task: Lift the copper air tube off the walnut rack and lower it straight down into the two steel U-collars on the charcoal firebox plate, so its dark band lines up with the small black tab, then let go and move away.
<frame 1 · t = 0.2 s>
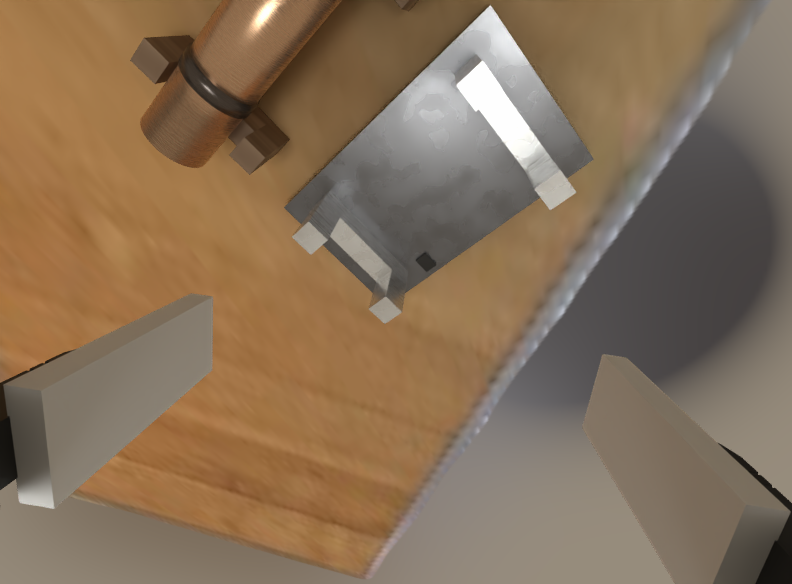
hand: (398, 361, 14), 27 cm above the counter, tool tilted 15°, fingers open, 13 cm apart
air tube: (277, 23, 29), point 4 cm above the counter, touching walnut rack
walnut rack: (294, 23, 33), on the counter
firebox plate: (429, 179, 38), on the counter
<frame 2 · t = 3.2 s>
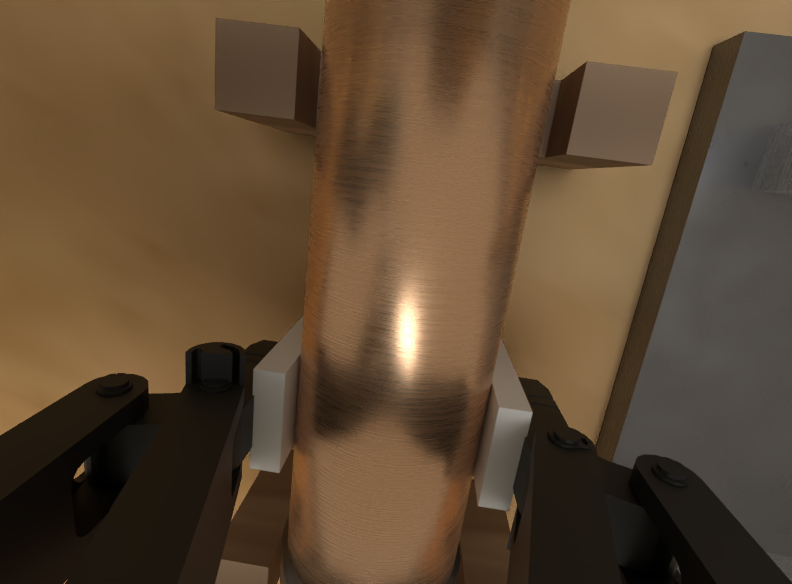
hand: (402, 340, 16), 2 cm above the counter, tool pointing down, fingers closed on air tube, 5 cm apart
air tube: (397, 365, 14), point 4 cm above the counter, touching gripper, walnut rack
walnut rack: (405, 324, 18), on the counter
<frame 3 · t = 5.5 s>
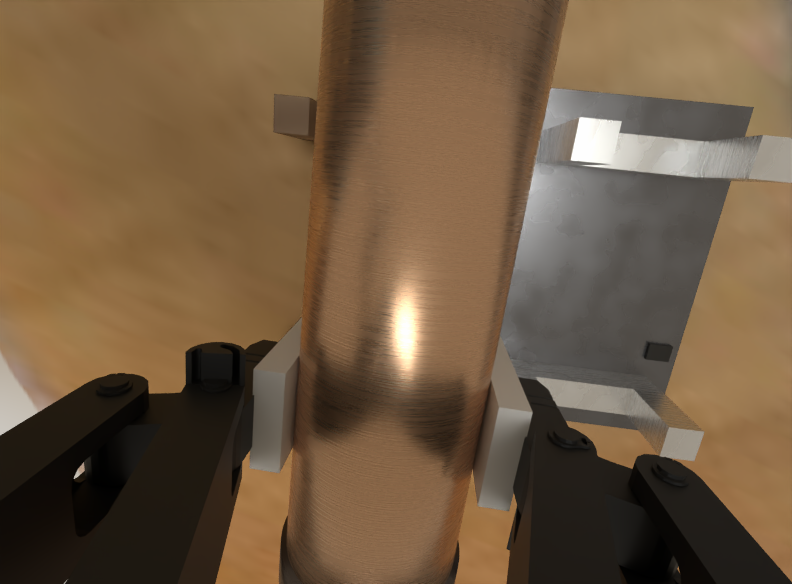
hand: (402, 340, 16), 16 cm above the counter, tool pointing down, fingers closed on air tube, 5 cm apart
air tube: (396, 365, 14), point 18 cm above the counter, touching gripper
walnut rack: (369, 245, 32), on the counter
firebox plate: (586, 270, 31), on the counter
when the fingers open (3 cm above the counter, at t = 8.2 s): air tube drops 1 cm, resting on firebox plate.
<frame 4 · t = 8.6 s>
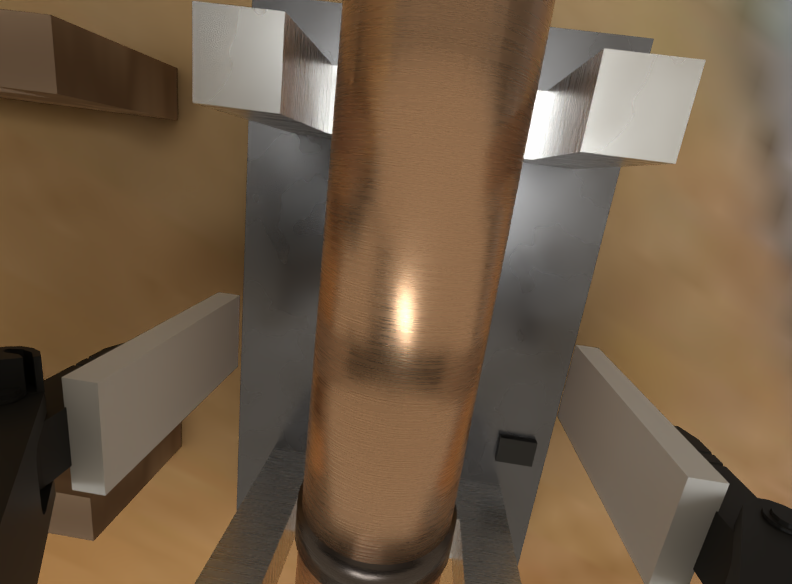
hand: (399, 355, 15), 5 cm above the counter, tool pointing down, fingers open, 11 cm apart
air tube: (400, 348, 16), point 4 cm above the counter, touching firebox plate
walnut rack: (70, 264, 20), on the counter
firebox plate: (407, 313, 19), on the counter
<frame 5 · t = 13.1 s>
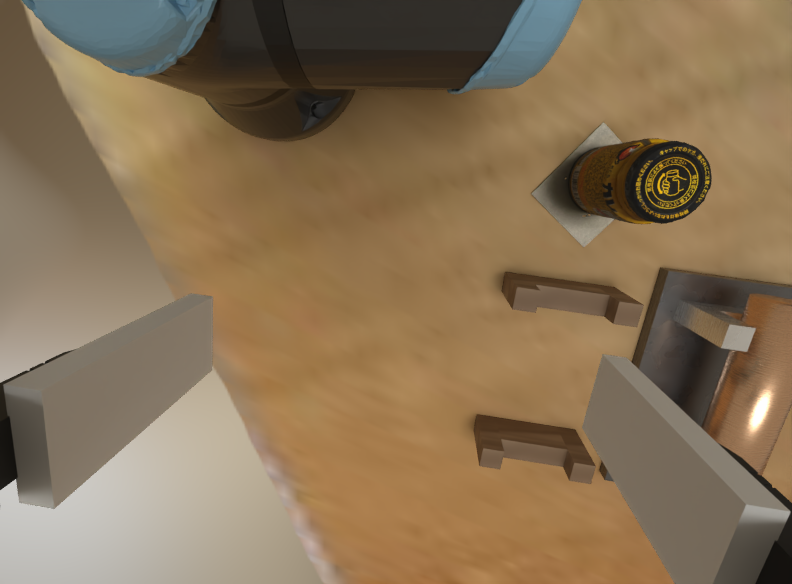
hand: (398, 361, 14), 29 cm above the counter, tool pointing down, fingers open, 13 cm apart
air tube: (722, 407, 40), point 4 cm above the counter, touching firebox plate
condiment: (591, 187, 40), on the counter
walnut rack: (539, 363, 44), on the counter
firebox plate: (697, 386, 44), on the counter
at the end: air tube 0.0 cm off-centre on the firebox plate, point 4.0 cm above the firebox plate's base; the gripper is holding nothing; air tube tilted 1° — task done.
